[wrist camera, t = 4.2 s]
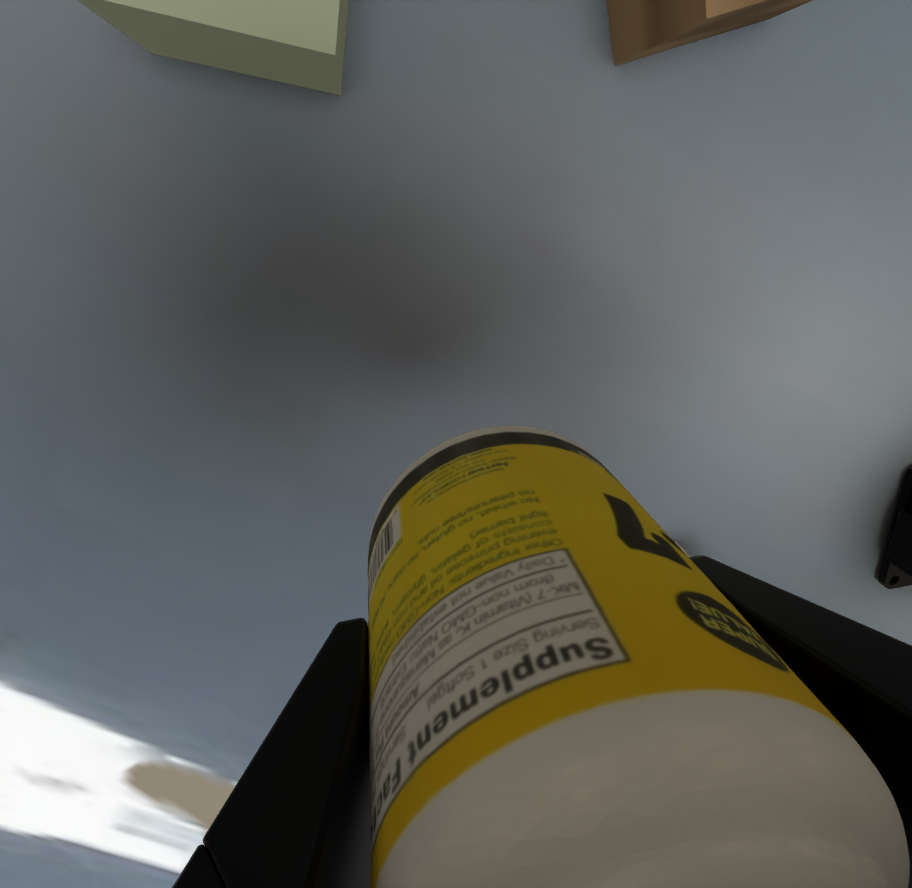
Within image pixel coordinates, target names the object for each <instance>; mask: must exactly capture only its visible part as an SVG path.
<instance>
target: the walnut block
mask: <svg viewBox="0 0 912 888" xmlns="http://www.w3.org/2000/svg"><path fill="white" fill-rule="evenodd" d="M810 1H812V0H607V8H608V16H609V24H610V32H611V40H612V48H613V56H614V64H615V66H616V65H619V64H622V63H626V62H629V61H632V60H636V59H639V58H642V57H645V56H649V55H652V54H655V53H659V52H662V51H665V50H669V49H672V48H675V47H678V46H682V45H685V44H688V43H692V42H695V41H698V40H701V39H705V38H708V37H711V36H715V35H718V34H721V33H725V32H728V31H731V30H734V29H738V28H741V27H744V26H748V25H751V24H754V23H757V22H761V21H764V20H767V19H770V18H773V17H775V16H777V15H780V14H782V13H784V12H786V11H789V10H791V9H793V8H796V7H798V6H800V5H803V4H805V3H807V2H810Z"/></svg>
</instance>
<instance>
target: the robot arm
mask: <svg viewBox="0 0 912 888" xmlns="http://www.w3.org/2000/svg"><path fill="white" fill-rule="evenodd" d="M689 558H690V559H691V560H692V562H693V563H694V564H695V565H696V566H697V567H698V568H699V569H700V570H701V571H702V572H703V573H704V574H705V576H706V577H707V578H708V579H709V580H710V581H711V582H712V583H713V585H714V586H715V587H716V588H717V589H718V590H719V591H720V592H721V593H722V594H723V595H724V596H725V598H726V599H727V600H728V601H729V602H730V603H731V604H732V605H733V606H734V607H735V608H736V609H737V611H738V612H739V613H740V614H741V615H742V616H743V617H744V619H745V620H746V621H747V622H748V623H749V624H750V625H751V626H752V628H753V629H754V630H755V631H756V632H757V633H758V634H759V635H760V636H761V638H762V639H763V640H764V641H765V642H766V643H767V644H768V645H769V646H770V647H771V648H772V649H773V650H774V651H775V652H776V653H777V654H778V656H779V657H780V658H781V659H782V660H783V661H784V662H785V663H786V665H787V666H788V667H789V668H790V669H791V670H792V671H793V672H794V673H795V674H796V676H797V677H798V678H799V679H800V680H801V681H802V682H803V683H804V684H805V685H806V686H807V688H808V689H809V690H810V691H811V692H812V693H813V694H814V695H815V696H816V697H817V698H818V700H819V701H820V702H821V703H822V704H823V705H824V706H825V707H826V708H827V709H828V710H829V712H830V713H831V714H832V715H833V716H834V717H835V718H836V719H837V720H838V721H839V723H840V724H841V725H842V726H843V727H844V728H845V729H846V730H847V731H848V732H849V733H850V735H851V736H852V737H853V738H854V739H855V740H856V742H857V743H858V744H859V745H860V747H861V748H862V749H863V751H864V752H865V753H866V755H867V756H868V758H869V759H870V760H871V762H872V763H873V764H874V766H875V767H876V768H877V770H878V771H879V773H880V775H881V776H882V778H883V780H884V781H885V783H886V785H887V786H888V788H889V790H890V792H891V794H892V796H893V798H894V800H895V803H896V805H897V808H898V811H899V813H900V816H901V819H902V822H903V826H904V831H905V835H906V840H907V846H908V853H909V860H910V869H909V884H908V888H912V646H911V645H909V644H906V643H904V642H902V641H899V640H897V639H895V638H893V637H890V636H888V635H886V634H883V633H881V632H879V631H876V630H874V629H872V628H870V627H867V626H865V625H863V624H860V623H858V622H856V621H854V620H851V619H849V618H847V617H844V616H842V615H840V614H837V613H835V612H833V611H831V610H828V609H826V608H824V607H821V606H819V605H817V604H815V603H812V602H810V601H808V600H805V599H803V598H801V597H798V596H796V595H794V594H792V593H789V592H787V591H785V590H782V589H780V588H778V587H775V586H773V585H771V584H769V583H766V582H764V581H762V580H759V579H757V578H755V577H753V576H750V575H748V574H746V573H743V572H741V571H739V570H736V569H734V568H732V567H730V566H727V565H725V564H723V563H720V562H718V561H716V560H714V559H711V558H709V557H706V556H694V557H689ZM878 581H879V583H881V584H882V585H883V586H885V587H886V588H888V589H893V588H898V587H903V586H908V585H912V468H911V469H909V471H908V472H907V473H906V475H905V478H904V481H903V485H902V489H901V493H900V496H899V500H898V504H897V508H896V511H895V515H894V519H893V522H892V526H891V530H890V534H889V537H888V541H887V545H886V549H885V552H884V556H883V560H882V564H881V567H880V571H879V575H878ZM368 670H369V641H368V625H367V622H366V620H365V619H364V618H357V619H352V620H346V621H341V622H339V623H337V624H336V625H335V627H334V628H333V630H332V632H331V633H330V635H329V637H328V638H327V640H326V641H325V643H324V645H323V646H322V648H321V649H320V651H319V653H318V654H317V656H316V657H315V659H314V661H313V662H312V664H311V666H310V667H309V669H308V670H307V672H306V674H305V675H304V677H303V678H302V680H301V682H300V683H299V685H298V686H297V688H296V690H295V691H294V693H293V694H292V696H291V698H290V699H289V701H288V703H287V704H286V706H285V707H284V709H283V711H282V712H281V714H280V715H279V717H278V719H277V720H276V722H275V723H274V725H273V727H272V728H271V730H270V732H269V733H268V735H267V736H266V738H265V740H264V741H263V743H262V744H261V746H260V748H259V749H258V751H257V752H256V754H255V756H254V757H253V759H252V761H251V762H250V764H249V765H248V767H247V769H246V770H245V772H244V773H243V775H242V777H241V778H240V780H239V781H238V783H237V785H236V786H235V788H234V789H233V791H232V793H231V794H230V796H229V798H228V799H227V801H226V802H225V804H224V806H223V807H222V809H221V810H220V812H219V814H218V815H217V817H216V819H215V820H214V822H213V823H212V825H211V827H210V828H209V830H208V831H207V833H206V835H205V836H204V838H203V843H204V845H205V846H204V845H199V846H198V847H197V848H196V850H195V852H194V853H193V855H192V857H191V858H190V860H189V861H188V863H187V865H186V866H185V868H184V869H183V871H182V873H181V874H180V876H179V878H178V879H177V881H176V882H175V884H174V885H173V887H172V888H370V880H371V861H370V742H369V675H368Z"/></svg>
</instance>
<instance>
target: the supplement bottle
mask: <svg viewBox="0 0 912 888" xmlns="http://www.w3.org/2000/svg"><path fill="white" fill-rule="evenodd" d="M368 616H369V622H368V641H369V670H368V675H369V742H370V861H371V880H370V888H908V884H909V869H910V860H909V853H908V846H907V840H906V835H905V831H904V826H903V822H902V819H901V816H900V813H899V811H898V808H897V805H896V803H895V800H894V798H893V796H892V794H891V792H890V790H889V788H888V786H887V785H886V783H885V781H884V780H883V778H882V776H881V775H880V773H879V771H878V770H877V768H876V767H875V766H874V764H873V763H872V762H871V760H870V759H869V758H868V756H867V755H866V753H865V752H864V751H863V749H862V748H861V747H860V745H859V744H858V743H857V742H856V740H855V739H854V738H853V737H852V736H851V735H850V733H849V732H848V731H847V730H846V729H845V728H844V727H843V726H842V725H841V724H840V723H839V721H838V720H837V719H836V718H835V717H834V716H833V715H832V714H831V713H830V712H829V710H828V709H827V708H826V707H825V706H824V705H823V704H822V703H821V702H820V701H819V700H818V698H817V697H816V696H815V695H814V694H813V693H812V692H811V691H810V690H809V689H808V688H807V686H806V685H805V684H804V683H803V682H802V681H801V680H800V679H799V678H798V677H797V676H796V674H795V673H794V672H793V671H792V670H791V669H790V668H789V667H788V666H787V665H786V663H785V662H784V661H783V660H782V659H781V658H780V657H779V656H778V654H777V653H776V652H775V651H774V650H773V649H772V648H771V647H770V646H769V645H768V644H767V643H766V642H765V641H764V640H763V639H762V638H761V636H760V635H759V634H758V633H757V632H756V631H755V630H754V629H753V628H752V626H751V625H750V624H749V623H748V622H747V621H746V620H745V619H744V617H743V616H742V615H741V614H740V613H739V612H738V611H737V609H736V608H735V607H734V606H733V605H732V604H731V603H730V602H729V601H728V600H727V599H726V598H725V596H724V595H723V594H722V593H721V592H720V591H719V590H718V589H717V588H716V587H715V586H714V585H713V583H712V582H711V581H710V580H709V579H708V578H707V577H706V576H705V574H704V573H703V572H702V571H701V570H700V569H699V568H698V567H697V566H696V565H695V564H694V563H693V562H692V560H691V559H690V558H689V557H688V556H687V555H686V554H685V553H684V552H683V551H682V550H681V549H680V547H679V546H678V545H677V544H676V543H675V542H674V541H673V540H672V539H671V538H670V537H669V536H668V535H667V534H666V533H665V532H664V531H663V529H662V528H661V527H660V526H659V525H658V524H657V523H656V522H655V520H654V519H653V518H652V517H651V516H650V515H649V514H648V513H647V512H646V511H645V510H644V509H643V507H642V506H641V505H640V504H639V503H638V502H637V501H636V500H635V499H634V498H633V496H632V495H631V494H630V493H629V492H628V491H627V490H626V489H625V488H624V486H623V485H622V484H621V483H620V482H619V481H618V480H617V479H616V478H615V477H614V476H613V475H612V474H611V473H610V472H609V471H608V470H607V469H606V468H605V467H604V466H603V465H602V464H601V463H600V462H599V461H598V460H597V459H596V458H595V457H594V456H593V455H592V454H591V453H589V452H588V451H587V450H586V449H584V448H583V447H581V446H579V445H578V444H576V443H574V442H573V441H571V440H569V439H567V438H565V437H563V436H561V435H558V434H556V433H553V432H550V431H547V430H543V429H539V428H533V427H526V426H497V427H488V428H483V429H478V430H474V431H470V432H467V433H464V434H461V435H458V436H456V437H453V438H451V439H449V440H447V441H445V442H443V443H441V444H439V445H437V446H436V447H434V448H432V449H431V450H429V451H428V452H426V453H425V454H424V455H422V456H421V457H420V458H418V459H417V460H416V461H415V462H414V463H413V464H411V465H410V466H409V467H408V468H407V469H406V470H405V471H404V472H403V473H402V474H401V475H400V476H399V477H398V479H397V480H396V481H395V482H394V484H393V485H392V486H391V488H390V489H389V490H388V492H387V494H386V495H385V497H384V499H383V500H382V502H381V504H380V506H379V509H378V511H377V513H376V516H375V519H374V522H373V526H372V530H371V534H370V540H369V553H368Z"/></svg>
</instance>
